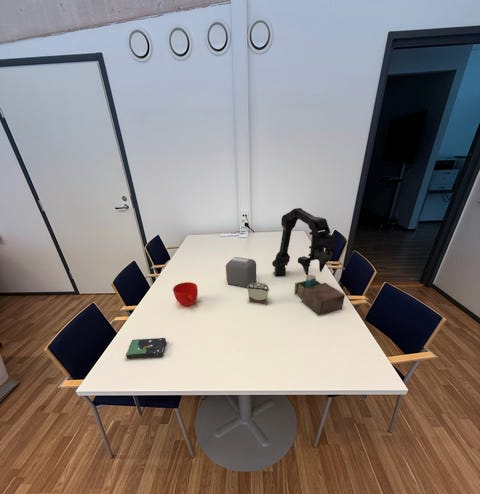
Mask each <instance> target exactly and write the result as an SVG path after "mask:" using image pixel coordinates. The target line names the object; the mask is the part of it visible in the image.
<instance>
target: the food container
mask: <svg viewBox="0 0 480 494" xmlns="http://www.w3.org/2000/svg"><path fill="white" fill-rule="evenodd" d="M246 290H247V293H248V301H249V303H250V304H258V305H265V306H266V305H267V302H268V296H269V292H270V287H269V285H268V284H267V283H265V282H264V283H263V282H253V283H252V284H249V285H248V287H246Z"/></svg>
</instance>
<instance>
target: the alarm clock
mask: <svg viewBox="0 0 480 494" xmlns="http://www.w3.org/2000/svg"><path fill="white" fill-rule="evenodd" d="M225 274H226V275H225V277H226V278H225V279H226V282H227V284H229V285H233V286H238V287H244V288H247V287H248V285H249V284H252V283H255V281H256V280H257V262H256V260H254V259H252V258H246V257H237V256H235V257H233V258H231V259H230V260H229V261H228V262H227V263H226V264H225Z"/></svg>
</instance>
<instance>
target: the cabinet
mask: <svg viewBox="0 0 480 494" xmlns="http://www.w3.org/2000/svg"><path fill="white" fill-rule="evenodd" d="M345 296H346V294H344V293H343V292H341V291H339V290H338V289H336V288H335V287H333V286H331V285H330V284H328V283H327V282H324V283H321V284H319V285H315V286H310V287H306V288H303V295H302V298H301V303H302V304H303V305H305V306H306V307H307V308H309V309H310V310H311V311H312V312H314V314H316V315H317V316H319V317H320V316H323V315H327V314H330V313H334V312H337V311H340V310H343V305H344V302H345Z"/></svg>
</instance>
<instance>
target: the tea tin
mask: <svg viewBox="0 0 480 494" xmlns="http://www.w3.org/2000/svg"><path fill="white" fill-rule="evenodd" d="M315 279H316V280H317V277H316V276H315V274H314V275H313V274H308V275H306V276H305V281H306V285H305V288H306V287H310V286H314V285H315Z"/></svg>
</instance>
